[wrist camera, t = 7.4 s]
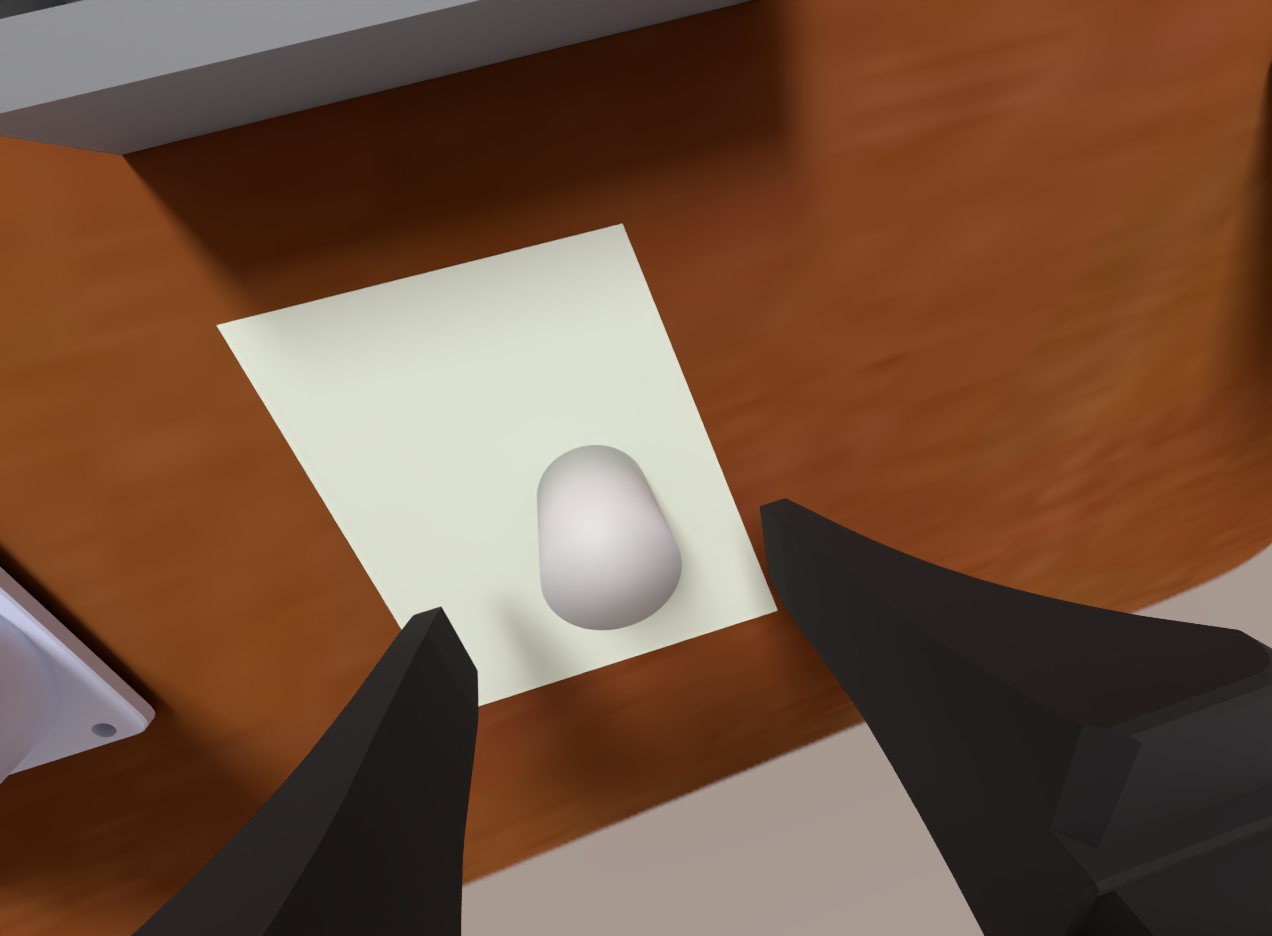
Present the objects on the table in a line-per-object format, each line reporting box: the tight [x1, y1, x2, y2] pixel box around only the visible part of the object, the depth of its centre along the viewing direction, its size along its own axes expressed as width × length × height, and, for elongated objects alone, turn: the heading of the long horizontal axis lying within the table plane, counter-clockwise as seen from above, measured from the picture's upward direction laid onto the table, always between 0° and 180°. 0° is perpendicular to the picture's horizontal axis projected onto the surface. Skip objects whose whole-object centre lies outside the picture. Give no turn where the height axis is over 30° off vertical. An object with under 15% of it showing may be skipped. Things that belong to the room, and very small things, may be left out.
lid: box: [217, 224, 778, 706], centre depth 12 cm, size 13×13×4 cm
